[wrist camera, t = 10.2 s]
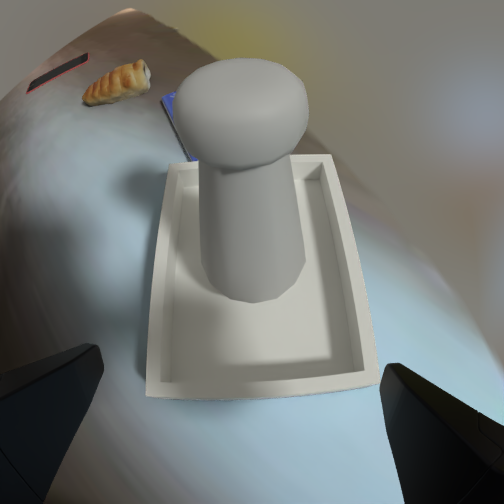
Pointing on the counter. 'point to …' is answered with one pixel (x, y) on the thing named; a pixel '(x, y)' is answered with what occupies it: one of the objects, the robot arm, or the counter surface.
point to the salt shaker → (245, 173)
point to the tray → (260, 305)
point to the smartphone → (58, 72)
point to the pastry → (119, 84)
